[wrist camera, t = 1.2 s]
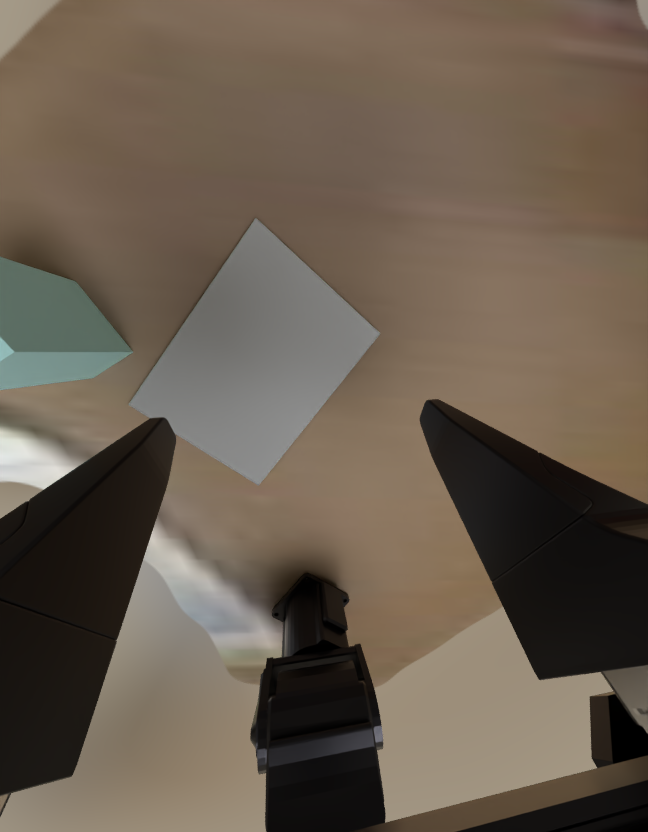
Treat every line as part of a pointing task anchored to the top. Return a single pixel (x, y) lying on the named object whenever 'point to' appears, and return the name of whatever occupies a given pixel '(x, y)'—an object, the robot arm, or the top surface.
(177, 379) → the placemat
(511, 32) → the top surface
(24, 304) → the mint green pillar
